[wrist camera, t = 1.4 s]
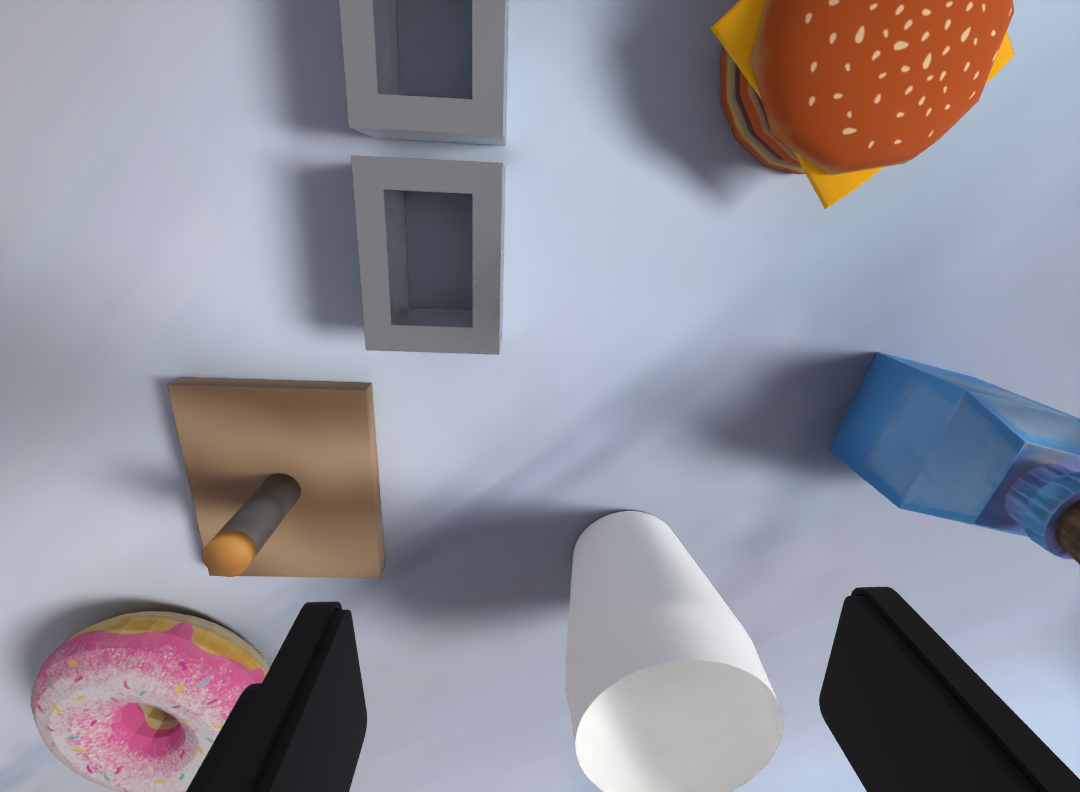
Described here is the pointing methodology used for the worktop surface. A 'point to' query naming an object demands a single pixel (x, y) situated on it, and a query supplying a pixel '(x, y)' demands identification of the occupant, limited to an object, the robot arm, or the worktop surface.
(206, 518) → the keeper
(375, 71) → the grey hollow block
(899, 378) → the perfume bottle
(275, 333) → the worktop surface
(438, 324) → the link
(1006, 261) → the worktop surface
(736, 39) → the hamburger
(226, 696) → the donut
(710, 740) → the cup
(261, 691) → the robot arm
